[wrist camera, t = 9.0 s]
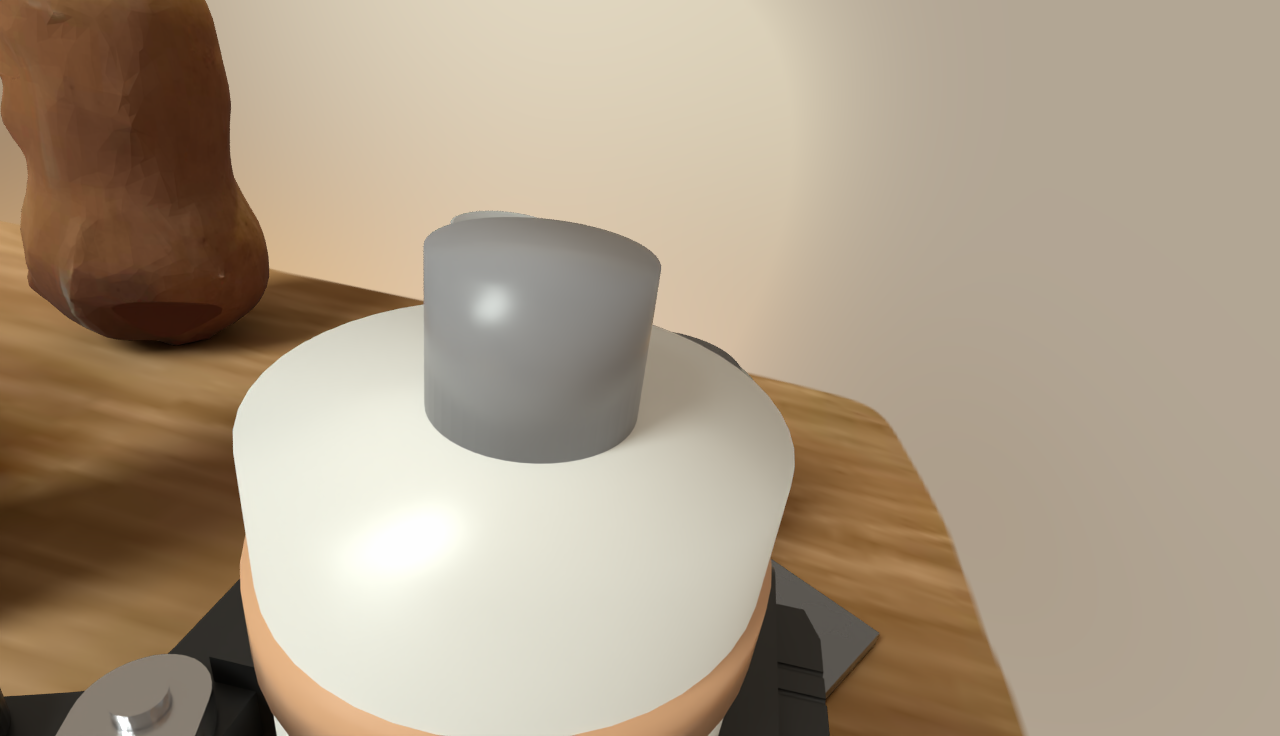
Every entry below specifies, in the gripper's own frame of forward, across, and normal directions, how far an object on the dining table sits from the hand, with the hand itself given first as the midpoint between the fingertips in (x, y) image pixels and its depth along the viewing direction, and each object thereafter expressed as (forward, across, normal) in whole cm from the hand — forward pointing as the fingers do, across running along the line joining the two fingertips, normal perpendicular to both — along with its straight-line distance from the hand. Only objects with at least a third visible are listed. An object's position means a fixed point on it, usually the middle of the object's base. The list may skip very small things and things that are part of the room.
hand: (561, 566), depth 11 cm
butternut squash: (+33, +37, +18) cm, 53 cm away
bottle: (-3, 0, +8) cm, 8 cm away
